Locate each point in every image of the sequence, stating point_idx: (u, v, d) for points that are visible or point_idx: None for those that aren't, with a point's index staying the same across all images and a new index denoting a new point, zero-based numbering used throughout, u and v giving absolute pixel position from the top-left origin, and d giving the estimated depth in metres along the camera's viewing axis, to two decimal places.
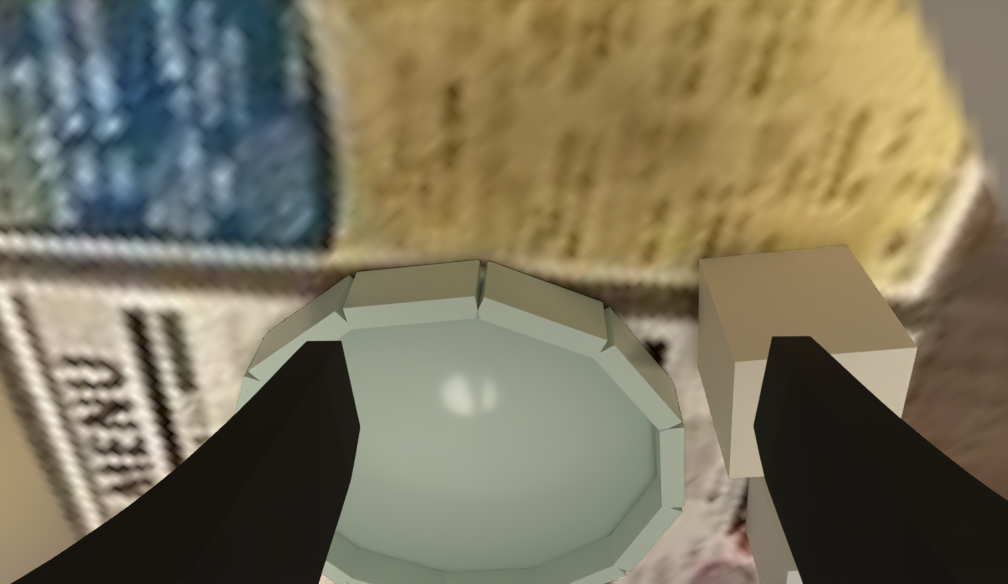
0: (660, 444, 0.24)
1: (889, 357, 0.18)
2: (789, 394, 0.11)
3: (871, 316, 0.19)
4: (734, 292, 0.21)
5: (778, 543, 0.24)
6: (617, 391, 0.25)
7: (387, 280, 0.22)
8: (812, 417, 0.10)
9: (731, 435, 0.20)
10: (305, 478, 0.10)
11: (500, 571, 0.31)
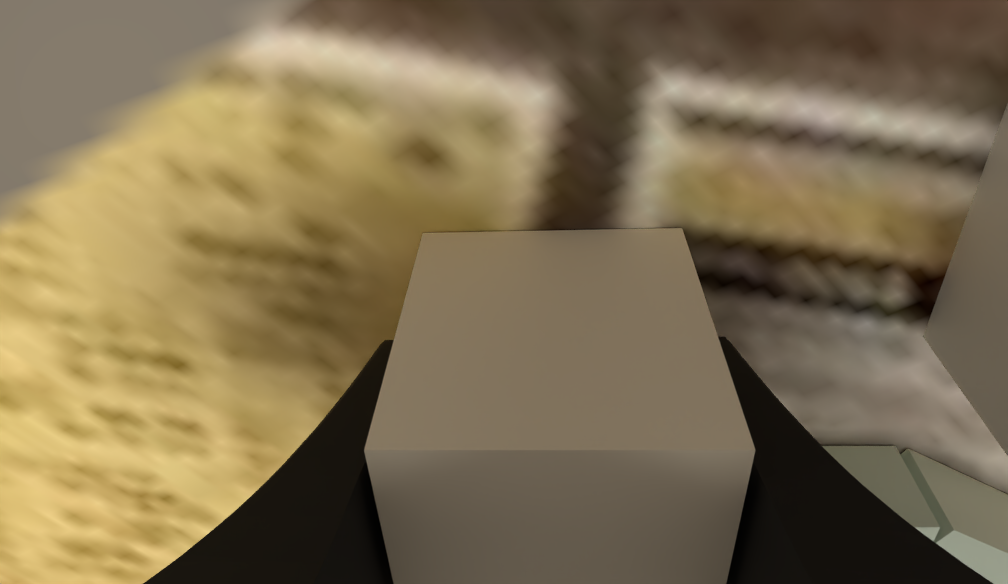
0: None
1: (394, 487, 0.09)
2: None
3: None
4: None
5: None
6: None
7: None
8: None
9: None
10: None
11: None
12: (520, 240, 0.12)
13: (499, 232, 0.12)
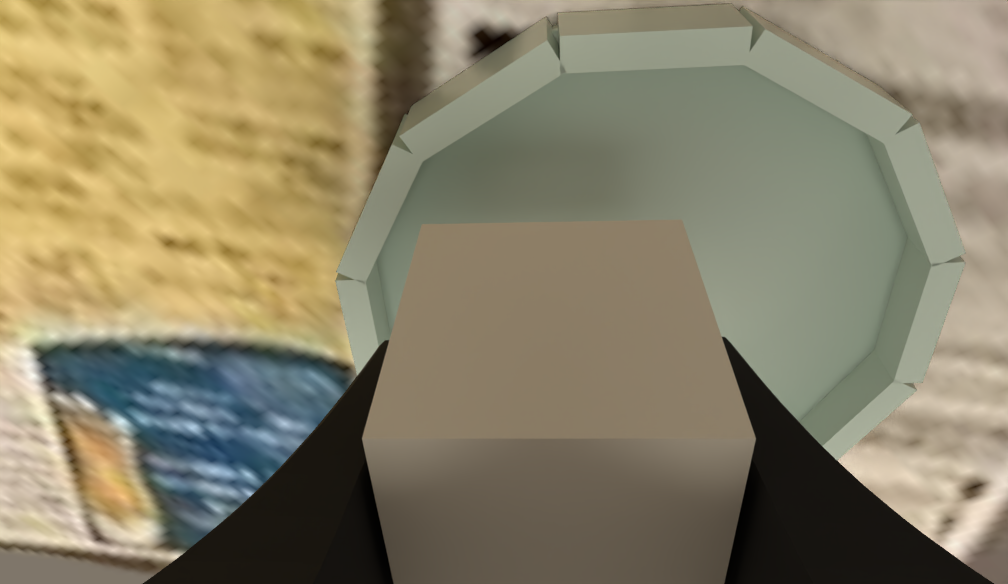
0: (595, 70, 0.16)
1: (392, 476, 0.09)
2: None
3: None
4: None
5: None
6: (537, 106, 0.17)
7: None
8: None
9: None
10: None
11: (895, 284, 0.20)
12: (519, 231, 0.12)
13: (498, 223, 0.12)
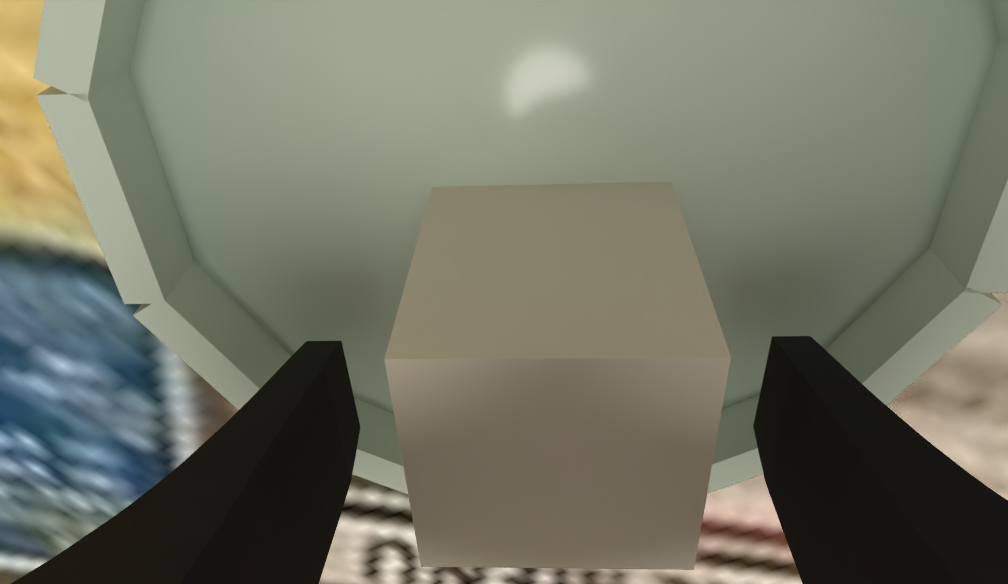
0: None
1: (410, 395, 0.10)
2: (789, 394, 0.11)
3: None
4: None
5: None
6: None
7: None
8: (812, 417, 0.10)
9: (584, 566, 0.12)
10: (305, 478, 0.10)
11: (972, 129, 0.12)
12: (522, 192, 0.13)
13: (502, 186, 0.13)
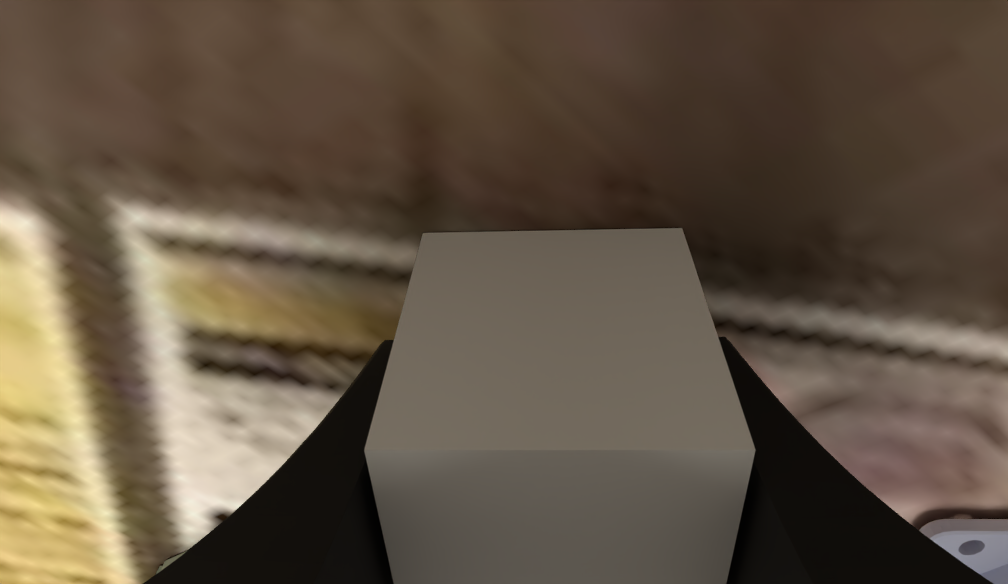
0: None
1: None
2: None
3: None
4: None
5: None
6: None
7: None
8: None
9: None
10: None
11: None
12: None
13: None
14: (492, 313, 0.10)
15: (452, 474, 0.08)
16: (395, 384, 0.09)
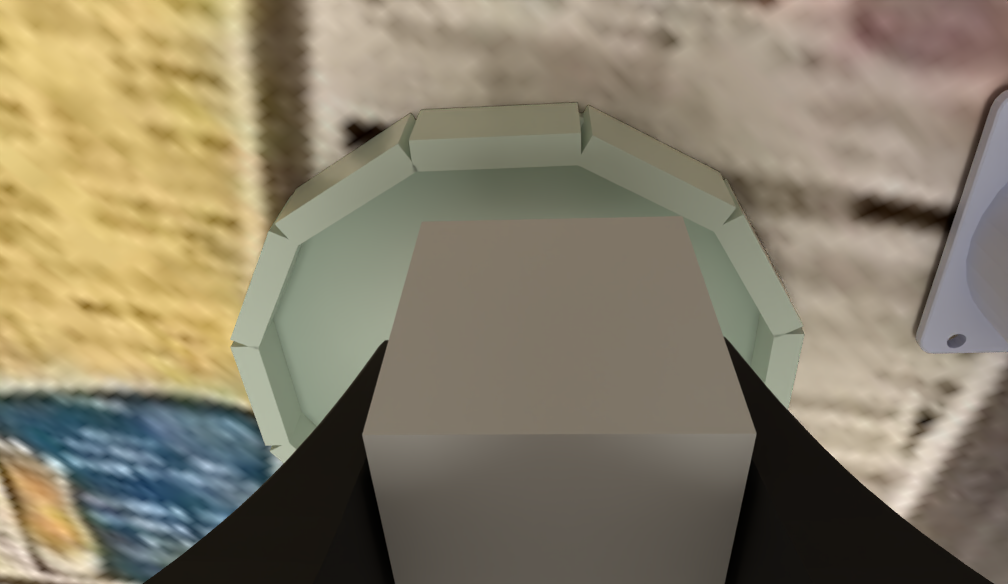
0: (444, 168, 0.17)
1: None
2: None
3: None
4: None
5: None
6: (407, 192, 0.19)
7: None
8: None
9: None
10: None
11: (754, 347, 0.21)
12: None
13: None
14: (491, 301, 0.10)
15: (451, 459, 0.08)
16: (393, 370, 0.09)
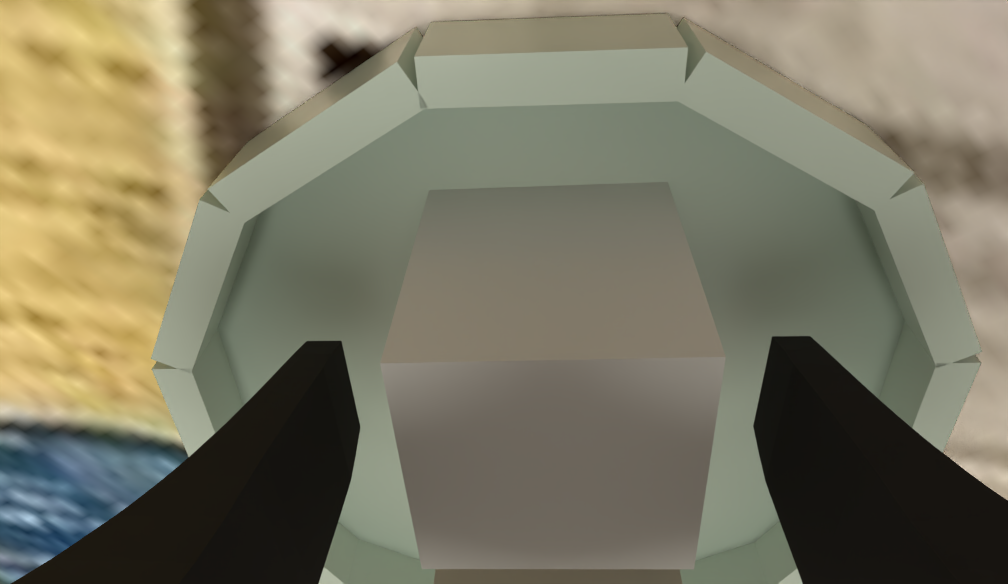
0: (469, 105, 0.11)
1: None
2: (789, 394, 0.11)
3: None
4: None
5: None
6: (409, 147, 0.13)
7: None
8: (812, 417, 0.10)
9: None
10: (306, 478, 0.10)
11: (888, 377, 0.15)
12: None
13: None
14: (493, 254, 0.11)
15: (459, 385, 0.09)
16: (406, 312, 0.10)
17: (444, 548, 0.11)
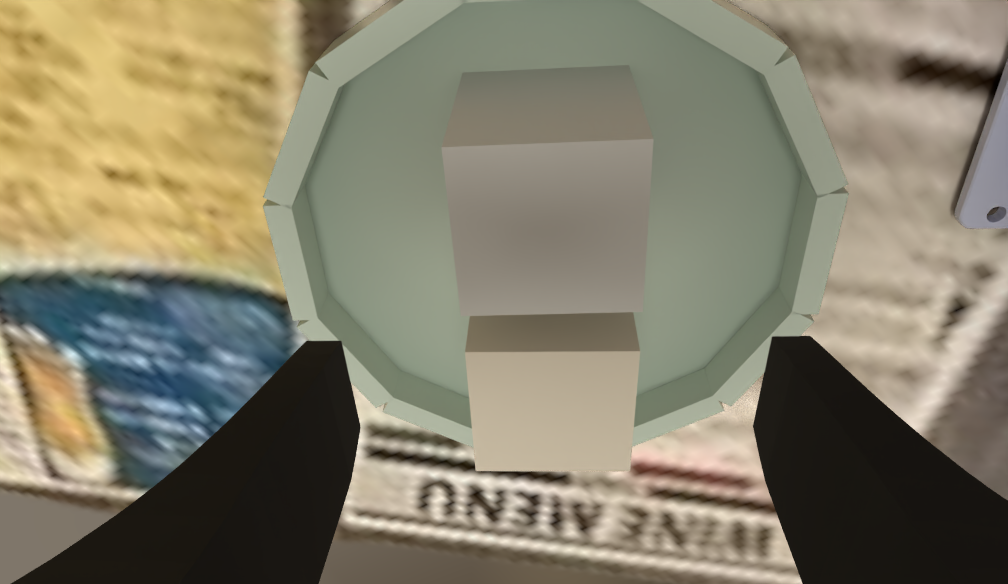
0: (493, 0, 0.17)
1: (476, 371, 0.19)
2: (789, 394, 0.11)
3: None
4: None
5: None
6: (449, 40, 0.19)
7: None
8: (812, 417, 0.10)
9: (568, 470, 0.21)
10: (306, 478, 0.10)
11: (793, 220, 0.21)
12: None
13: None
14: (509, 101, 0.17)
15: (489, 163, 0.15)
16: (454, 126, 0.16)
17: (476, 297, 0.17)
